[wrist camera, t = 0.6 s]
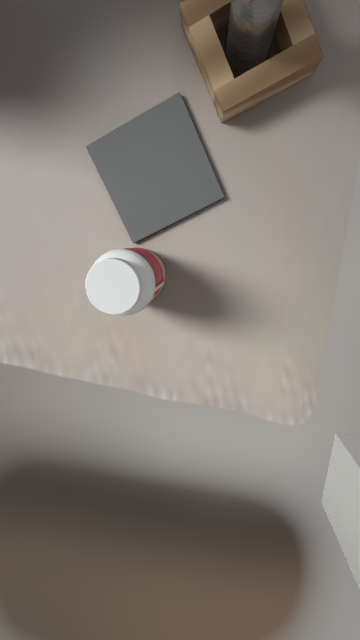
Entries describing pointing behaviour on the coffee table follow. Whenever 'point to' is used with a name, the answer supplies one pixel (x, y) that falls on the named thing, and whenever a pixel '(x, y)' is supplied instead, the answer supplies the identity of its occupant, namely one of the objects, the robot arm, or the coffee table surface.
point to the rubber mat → (156, 169)
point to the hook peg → (251, 32)
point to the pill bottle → (125, 280)
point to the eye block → (263, 80)
